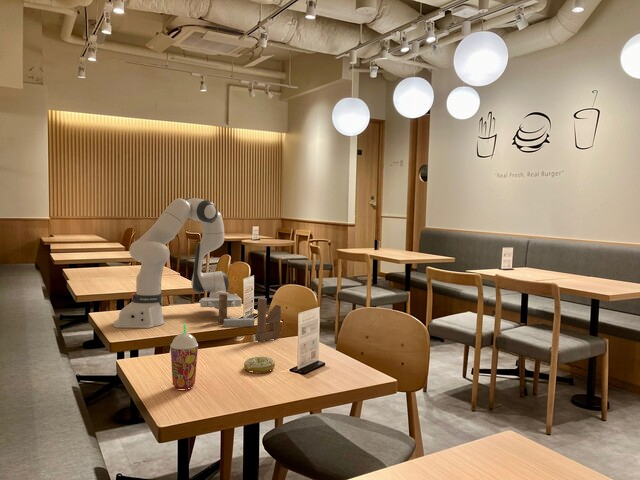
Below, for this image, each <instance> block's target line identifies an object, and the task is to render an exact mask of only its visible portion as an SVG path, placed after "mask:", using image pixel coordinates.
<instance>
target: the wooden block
mask: <svg viewBox="0 0 640 480" xmlns="http://www.w3.org/2000/svg"><path fill="white" fill-rule="evenodd" d="M281 309H282V307H281V305H279V304H275V305H274V306H273V308H272V309H271V310H270V312H269V313H268V314H267V298H265V297H259V298H257V318H256V319H257V321H256V323H257V326H256V330H257V331H255V338H254V339H255V341H257V342H265V341H271V340H276V339H280V338H281V314H282V313H281ZM267 325H268V329H267Z"/></svg>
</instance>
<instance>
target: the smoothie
mask: <svg viewBox="0 0 640 480" xmlns="http://www.w3.org/2000/svg"><path fill="white" fill-rule="evenodd" d="M186 328H187V324H186V323H185V324H183V332H182V333H179V334H177V335H176V336H175V337H174V338H173V340H172V342H171V343H170V358H171V378H172V385H173V387H175V388H176V389H188V388H191V387H193V388H194V385H195V384H196V375H197V374H196V373H197V362H198V361H197V360H198V350H199V343H198V342H197V339H196V337H195V336H194V335H192V333H191V334H190V333H188V332H187V331H186V330H187V329H186ZM175 388H174V389H175ZM176 389H175V390H176Z"/></svg>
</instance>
